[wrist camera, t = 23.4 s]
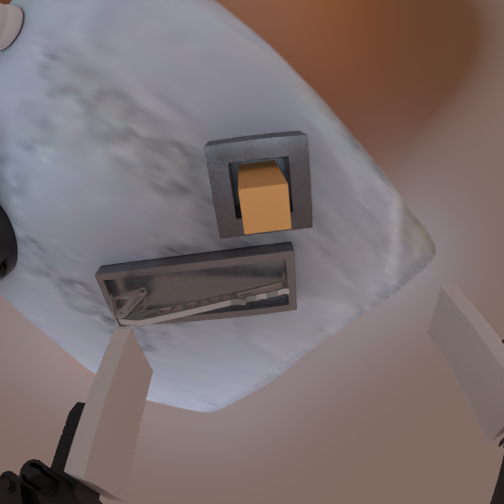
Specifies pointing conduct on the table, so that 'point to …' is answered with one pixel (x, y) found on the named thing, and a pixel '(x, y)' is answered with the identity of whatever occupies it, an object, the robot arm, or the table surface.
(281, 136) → the socket
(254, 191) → the tan rectangular block
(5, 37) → the water bottle
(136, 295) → the bracket
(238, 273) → the tray
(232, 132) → the table surface
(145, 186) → the table surface
